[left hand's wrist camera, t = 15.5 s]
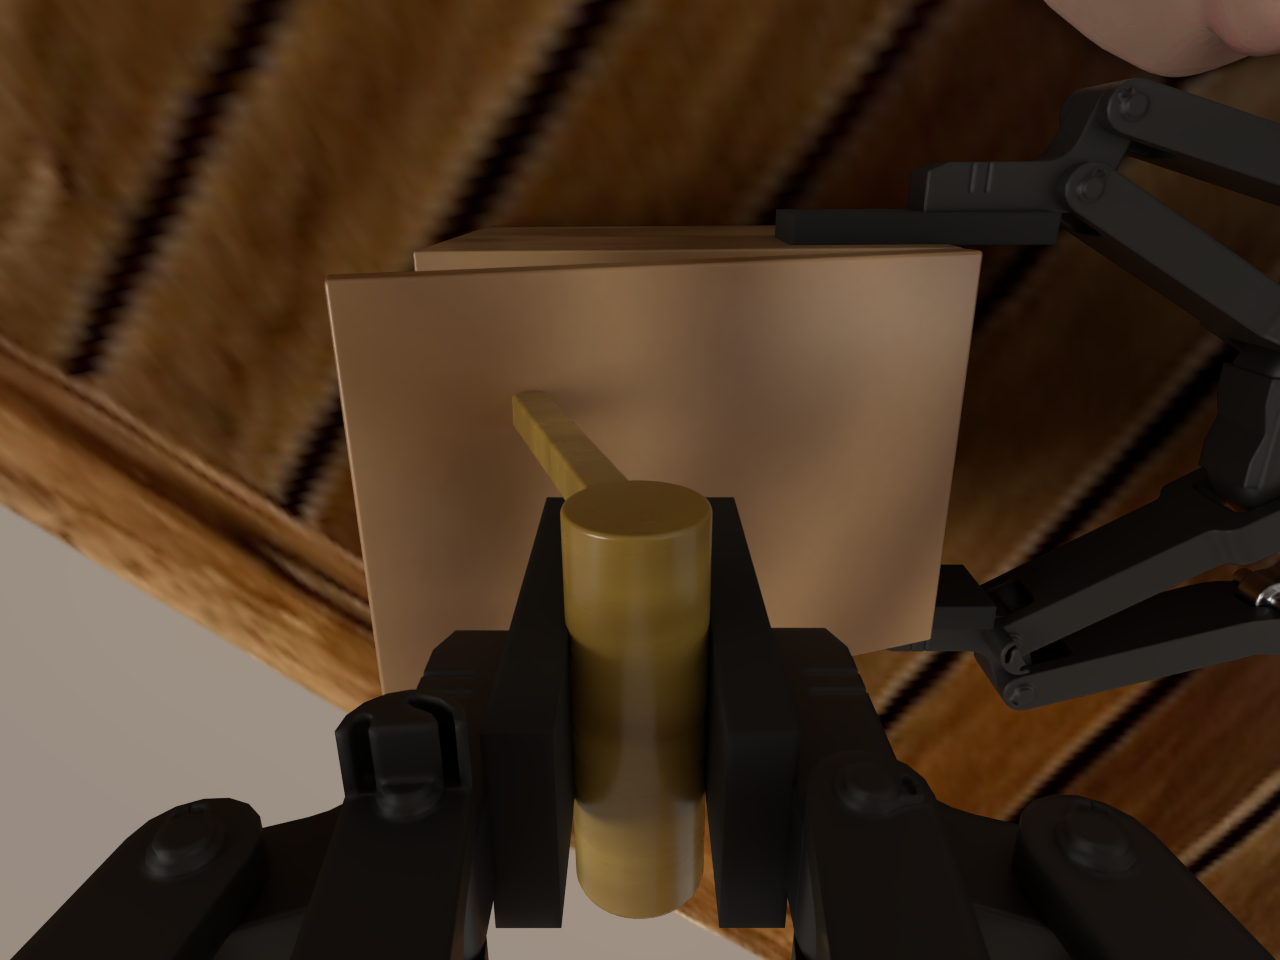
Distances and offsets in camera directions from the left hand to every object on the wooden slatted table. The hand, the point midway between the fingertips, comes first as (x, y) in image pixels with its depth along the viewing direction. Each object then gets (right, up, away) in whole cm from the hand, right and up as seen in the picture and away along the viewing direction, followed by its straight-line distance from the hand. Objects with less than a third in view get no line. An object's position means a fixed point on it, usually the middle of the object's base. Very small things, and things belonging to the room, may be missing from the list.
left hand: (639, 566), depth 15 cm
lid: (+1, +1, +4) cm, 4 cm away
